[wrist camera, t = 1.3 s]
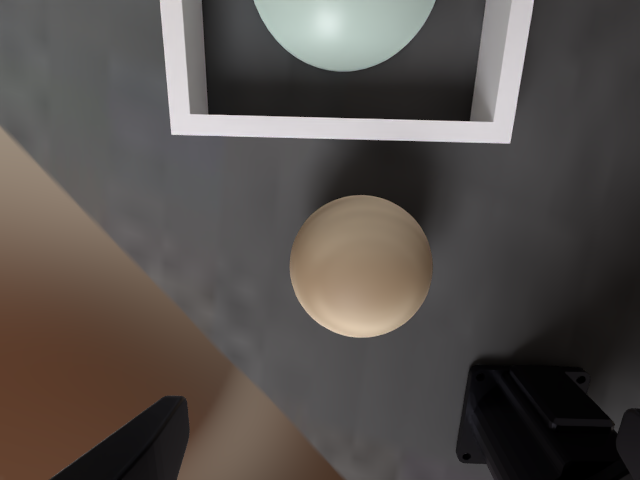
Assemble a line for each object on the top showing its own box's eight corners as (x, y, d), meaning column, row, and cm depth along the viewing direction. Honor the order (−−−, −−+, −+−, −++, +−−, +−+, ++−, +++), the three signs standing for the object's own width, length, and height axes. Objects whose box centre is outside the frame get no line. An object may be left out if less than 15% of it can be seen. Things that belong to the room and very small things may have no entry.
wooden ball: (407, 299, 20) (442, 370, 14) (294, 296, 20) (283, 366, 14) (419, 186, 18) (464, 214, 12) (295, 183, 18) (282, 209, 12)
